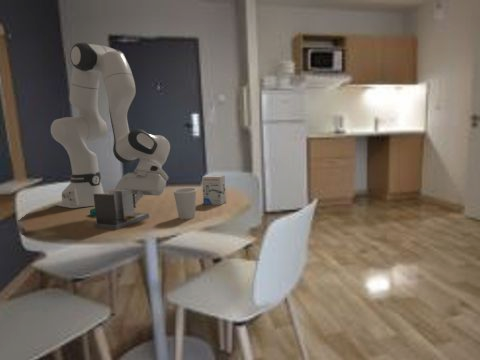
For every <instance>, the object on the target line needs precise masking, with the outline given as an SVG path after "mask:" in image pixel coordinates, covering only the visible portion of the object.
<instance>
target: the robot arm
mask: <svg viewBox="0 0 480 360" xmlns="http://www.w3.org/2000/svg"><path fill="white" fill-rule="evenodd" d="M69 55H70V57H69V58H70V62H71V63H72V66H73V69H72V72H71V79H70V87H69V88H70V89H69V98H68V100H69V103H70V105H72V106H73V107H74V108H76V109H77V112H78V116H70V117H68V116H65V117H62V118H61V117H60V118H57V119H54V120H53V122H52V123H51V125H50V133H51V137H52V138H53V139H54V140H55V141H56V142H57V143H59V144H60V145H62V147H63V148H64V149H65V151H66V152H67V154H68V157H69V161H70V166H71V173H72V174H71V175H68V177H69V178H68V179H70V183H69V184H68V185H67V186H66V187H65V188H64V189H63V190H62V191H61V201H59V202H57V203H56V206H58V207H63V208H69V209H78V208H85V207H93V206H94V207H95V203H94V195H93V194H105V192H104V187H103V184H102V182H101V172H100V169H99V160H98V155H97V154H96V153H95V152H94V151H93V150H90V149H89V148H88V146H87V144H86V142H98V141H100V140H103V139H105V138H106V137H107V135H108V130H109V128H108V125H107V124H108V123H107V122H106V121H105V120H104V119H103V117H101V115H100V112H99V108H98V107H99V106H98V104H99V102H98V101H99V87H100V79H101V77H102V78H103V79H102V80H103V83H104V86H105V91H106V96H107V101H108V111H109V118H110V123H111V129H112V133H113V134H112V136H113V147H112V148H113V149H112V151H113V155H114V157H115V159H116V160H118V162H120V163H123V164H126V165H127V164H129V165H130V164H133V163H135V162H136V160H138V159H139V161H138V164H137V166H136V167H135V169H134V171H133V172H132V171H130V172H127V173H126V174H124V175H123V176H122V177H121V178H120V179H119V181H118V182H117V183H116V186H115V189H118V188H129V189H132V194H134V195H135V205H137V204H138V201H140V200H141V199H142V198H143V197H144V196H158V197H159V196H160V195H162V194H163V192H164V191H165V187H166V185H167V181H168V180H169V178H170V177H169V175H168V174H167V173H166V171H164V169H163V168H162V167H163V166H164V164H165V163H166V162H167V158H168V157H169V154H170V150H171V144H170V142H169V140H168V139H167V138H166V137H165V136H163V135H160V134H157V135H155V134H151V133H148V132H146V131H145V130H143V129H142V128H141V129H140V128H134V129H132V130H131V131H130V128H129V122H128V111H129V109H130V106H131V105H132V102H133V100H134V98H135V97H136V92H137V91H136V82H135V78H134V76H133V73H132V69H131V67H130V64H129V63H128V60H127V59H126V56H125V53H123V51H121V50H119V49H117V48H112V47H109V46H106V45H102V44H93V43H91V44H90V43H87V42H77V43H75V44H73V46H72V47H71V50H70V54H69Z"/></svg>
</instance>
